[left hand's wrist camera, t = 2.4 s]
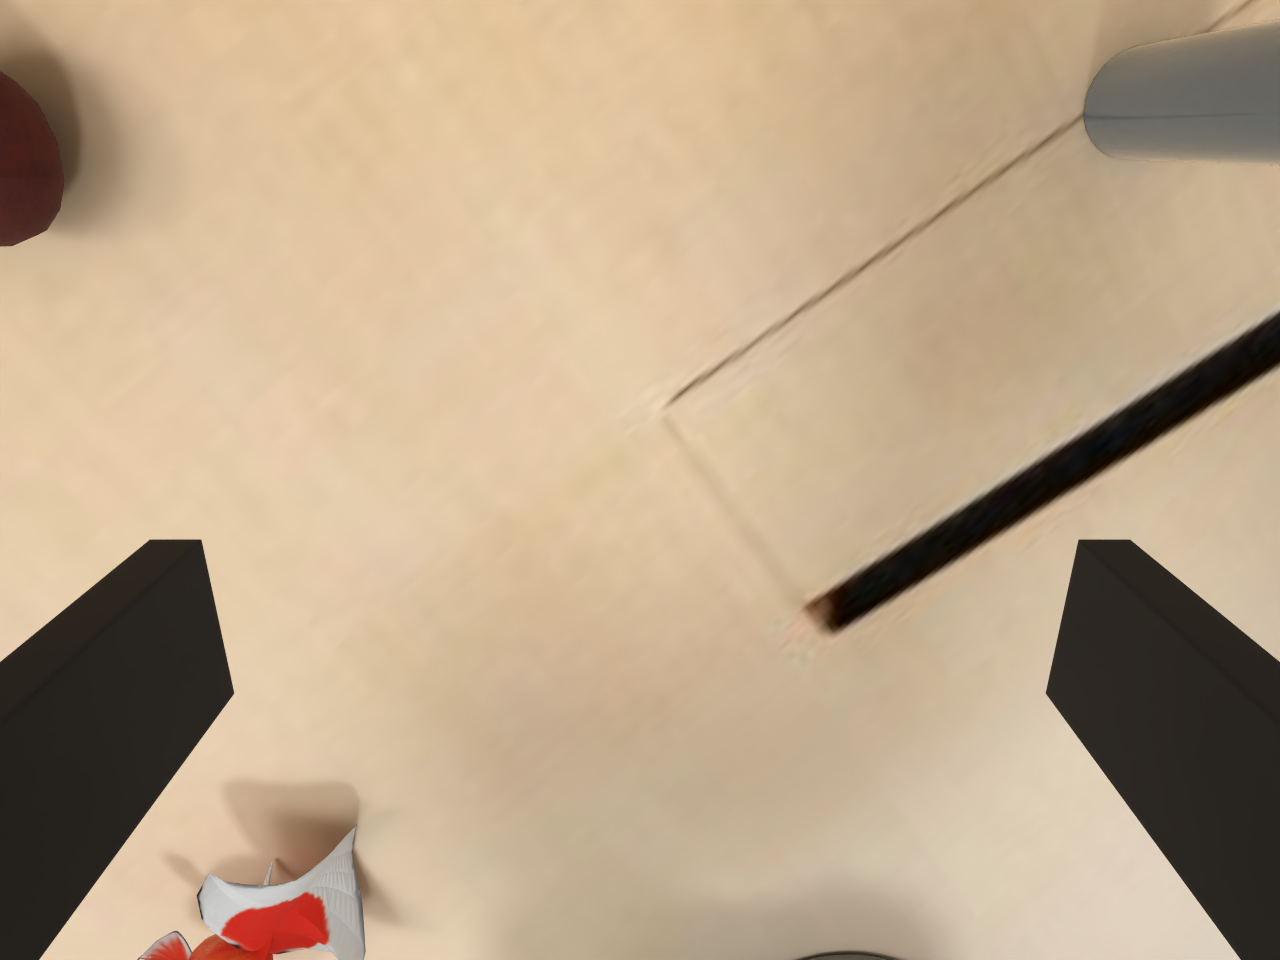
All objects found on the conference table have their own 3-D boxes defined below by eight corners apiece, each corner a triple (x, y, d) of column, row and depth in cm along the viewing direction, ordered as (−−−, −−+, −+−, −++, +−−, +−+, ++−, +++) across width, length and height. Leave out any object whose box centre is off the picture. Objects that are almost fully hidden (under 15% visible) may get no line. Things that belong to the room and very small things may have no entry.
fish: (55, 926, 47) (57, 1095, 40) (295, 736, 50) (338, 858, 43) (192, 987, 54) (215, 1142, 46) (395, 816, 57) (448, 934, 50)
